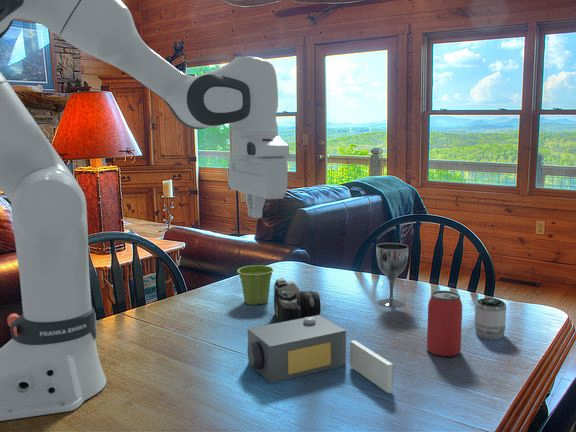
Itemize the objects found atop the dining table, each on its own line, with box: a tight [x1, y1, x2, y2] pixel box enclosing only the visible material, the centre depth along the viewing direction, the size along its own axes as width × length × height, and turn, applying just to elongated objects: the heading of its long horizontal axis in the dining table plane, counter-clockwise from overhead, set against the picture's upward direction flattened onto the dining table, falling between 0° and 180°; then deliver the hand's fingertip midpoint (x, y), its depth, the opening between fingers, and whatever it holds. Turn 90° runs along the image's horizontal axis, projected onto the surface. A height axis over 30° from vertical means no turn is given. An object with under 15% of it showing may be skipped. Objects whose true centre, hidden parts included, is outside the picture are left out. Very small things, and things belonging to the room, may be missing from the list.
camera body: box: [247, 314, 347, 384], centre depth 108 cm, size 17×10×8 cm, turn 117°
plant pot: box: [236, 264, 274, 306], centre depth 147 cm, size 9×9×9 cm
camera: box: [273, 277, 322, 323], centre depth 132 cm, size 16×10×10 cm, turn 10°
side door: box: [349, 339, 394, 394], centre depth 102 cm, size 12×2×5 cm, turn 26°
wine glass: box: [375, 242, 409, 308], centre depth 144 cm, size 8×8×15 cm
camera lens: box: [474, 297, 507, 341], centre depth 123 cm, size 6×6×8 cm
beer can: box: [426, 290, 463, 358], centre depth 114 cm, size 7×7×12 cm
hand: (255, 217), depth 110 cm, fingers closed
